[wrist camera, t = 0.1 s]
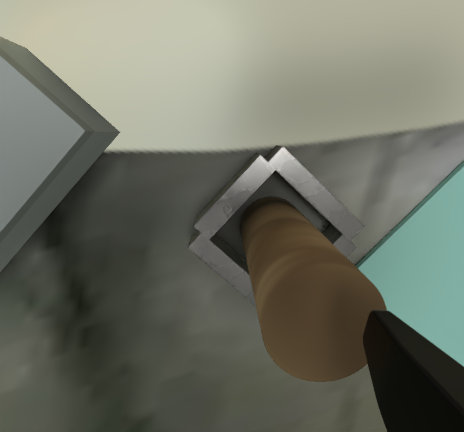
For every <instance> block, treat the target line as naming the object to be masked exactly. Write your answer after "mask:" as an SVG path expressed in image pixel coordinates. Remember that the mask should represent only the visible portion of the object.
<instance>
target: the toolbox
mask: <svg viewBox="0 0 464 432" xmlns="http://www.w3.org/2000/svg"><path fill="white" fill-rule="evenodd" d="M119 133H120V132H119V131H118V130H117V129H115V127H114V126H112V125H111V124H110V123H109V122H108V121H107V120H106V119H105V118H103V117H102V116H101V115H100V114H99V113H98V112H97V111H96V110H95V109H93V108H92V107H91V106H90V105H89V104H88V103H87V102H86V101H84V100H83V99H82V98H81V97H80V96H79V95H78V94H77V93H76V92H74V91H73V90H72V89H71V88H70V87H69V86H68V85H67V84H66V83H64V82H63V81H62V80H61V79H60V78H59V77H58V76H57V75H55V74H54V73H53V72H52V71H51V70H50V69H49V68H48V67H47V66H45V65H44V64H43V63H42V62H41V61H40V60H39V59H38V58H36V57H35V56H34V55H33V54H32V53H31V52H30V51H28V49H26V48H25V47H22V46H20V45H18V44H16V43H13V42H11V41H9V40H7V39H4V38H2V37H0V272H1V271H2V270H3V268H4V267H5V266H6V265H7V264H8V263H9V261H10V260H11V259H12V258H13V257H14V256H15V254H16V253H17V252H18V251H19V250H20V249H21V247H22V246H23V245H24V244H25V243H26V242H27V240H28V239H29V238H30V237H31V236H32V235H33V233H34V232H35V231H36V230H37V229H38V228H39V226H40V225H41V224H42V223H43V222H44V220H45V219H46V218H47V217H48V216H49V215H50V213H51V212H52V211H53V210H54V209H55V208H56V206H57V205H58V204H59V203H60V202H61V201H62V199H63V198H64V197H65V196H66V195H67V194H68V192H69V191H70V190H71V189H72V188H73V187H74V185H75V184H76V183H77V182H78V181H79V180H80V178H81V177H82V176H83V175H84V174H85V173H86V171H87V170H88V169H89V168H90V167H91V166H92V164H93V163H94V162H95V161H96V160H97V159H98V157H99V156H100V155H101V154H102V153H103V152H104V150H105V149H106V148H107V147H108V146H109V145H110V143H111V142H112V141H113V140H114V139H115V138H116V136H117V135H118V134H119Z"/></svg>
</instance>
